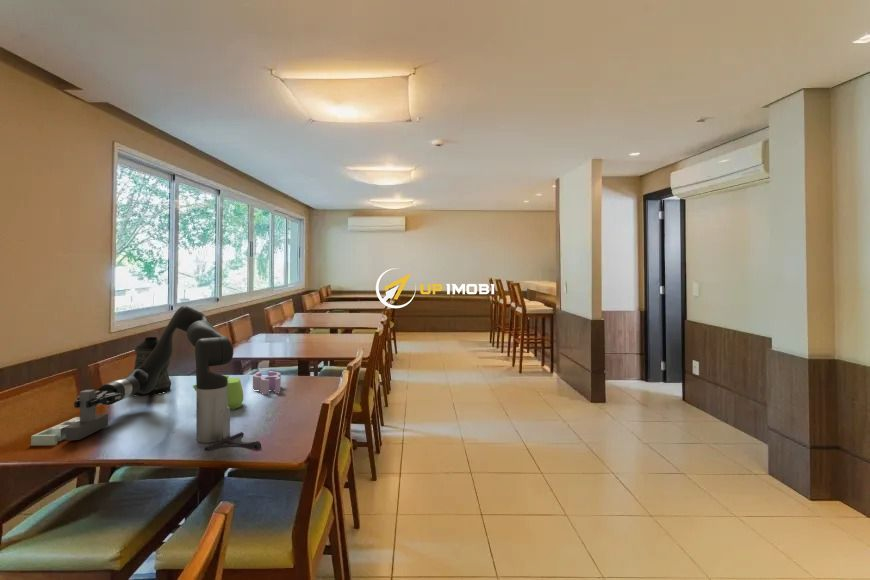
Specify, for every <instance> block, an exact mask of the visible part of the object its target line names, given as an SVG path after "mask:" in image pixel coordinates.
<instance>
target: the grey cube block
mask: <svg viewBox="0 0 870 580" xmlns="http://www.w3.org/2000/svg"><path fill="white" fill-rule="evenodd" d="M69 426H70V425H58V424H56V425H54V426H52V427H49V428H47V429H48V435H57V442H61V441H64V440H66V427H69Z"/></svg>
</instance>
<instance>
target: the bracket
mask: <svg viewBox="0 0 870 580" xmlns="http://www.w3.org/2000/svg"><path fill="white" fill-rule="evenodd" d="M243 435H244V432H242V431H240V432H238V433H236V434H234V435H231V436H228V437H226V438H225V439H224V440H222V441H216V442H214V443H211V445H208V446H205V448H204V451H206V450H207V451H214V450H219V449H224V448H231V447H233V448H234V447H243V448H248V449H249V448H250V449H253V448H254V449H253V450H260V449H262V443H261V442H260V441H259V440H256V441H251V442H246V441H245V442H243V441H242V438H243V437H244V436H243ZM255 448H256V449H255ZM259 448H260V449H259Z"/></svg>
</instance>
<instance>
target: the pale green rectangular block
mask: <svg viewBox="0 0 870 580" xmlns="http://www.w3.org/2000/svg"><path fill="white" fill-rule="evenodd" d="M73 418H80V416H75V417H73ZM73 418H71V419H73ZM66 421H67V420H66ZM66 421H63V422H61V423H59V424H57V425H64V422H66ZM48 429H49V428H47V429H44V430H42V431H39V432H37V433H35V434H33V435H30V443H31V444H30V446H56V445H58V441H57V435H48Z"/></svg>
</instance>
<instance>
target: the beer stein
mask: <svg viewBox="0 0 870 580" xmlns="http://www.w3.org/2000/svg"><path fill="white" fill-rule="evenodd" d="M159 340H160V339H158V337H156V336H148V337H145V338H144V340H143V341H142V342H141V343H139V344H137V345H136V346H135V347H134V348H133V350H134V353H135V361H134V367H133V370H135V369H141V370H143V371H144V372H146V373H147V371H146V370H145V369H144V367H143V363H144V361H145V360H146V359H147V357H148V356H149V355H150V353H151V352H152V351H153V349H154V348H155V347H156V345H157V343H158V342H159ZM170 362H171V358H170V359H169V361H168V362H167V363H166V365H165V366H164V367H163V369H162V370H161V372H160V375H159V377H158V380H157V383H156V385H155V387H154V389H153V390H152V391H150V392H149V393H146V394H142V393H140V392H138V391H137V392H136V393H134V394H132V395H131V396H134V395H136V396H137V397H138V396H139V397H145V396H148V395H149V396H155V394H156V395H160V394H159V393H161V394H164V393H163V392H165V393H167V391H168V392H170V391H171V386H172V380H171V378H170V375H169V371H168V367H169V366H170ZM147 374H148V373H147ZM136 396H135V397H136Z"/></svg>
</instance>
